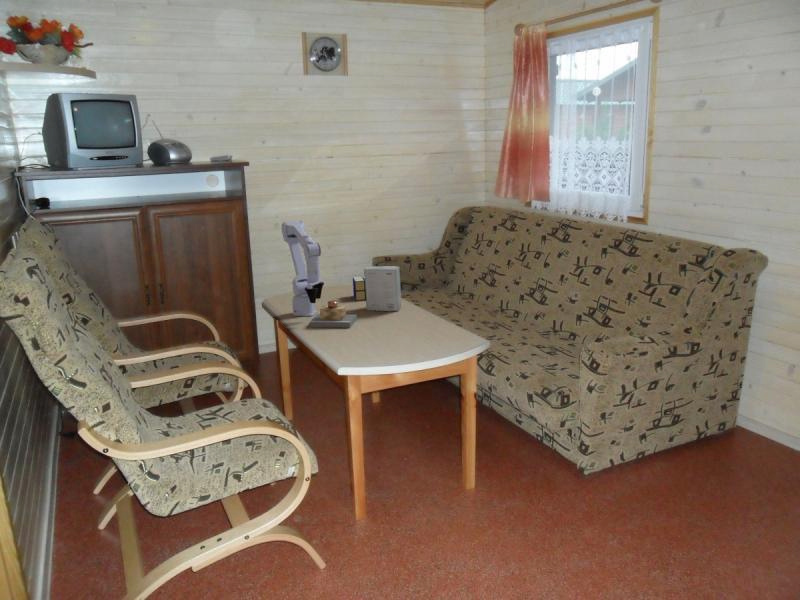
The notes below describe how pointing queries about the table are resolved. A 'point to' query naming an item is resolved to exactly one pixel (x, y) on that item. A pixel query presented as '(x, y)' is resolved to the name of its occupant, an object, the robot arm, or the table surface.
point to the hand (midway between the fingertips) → (315, 300)
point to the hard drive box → (382, 288)
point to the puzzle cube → (359, 288)
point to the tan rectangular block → (332, 313)
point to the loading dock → (333, 322)
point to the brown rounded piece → (332, 304)
